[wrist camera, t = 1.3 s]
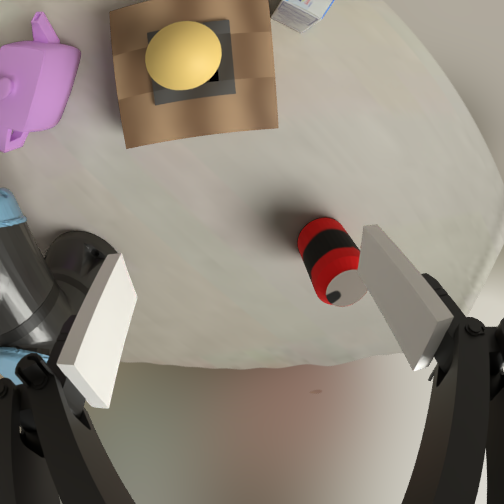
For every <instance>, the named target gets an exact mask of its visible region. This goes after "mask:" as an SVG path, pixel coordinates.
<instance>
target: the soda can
mask: <svg viewBox="0 0 504 504" xmlns="http://www.w3.org/2000/svg"><path fill="white" fill-rule="evenodd" d="M298 249H299V252H300V254H301V257H302V259H303V262H304V264H305V267H306V269H307V272H308V274H309V277H310V279H311V282H312V284H313V287H314V289H315V292H316V294H317V296H318V298H319V299H320V300H321V301H323V302H324V303H327V304H330V305H335V306H339V307H344V306H349V305H352V304H354V303H356V302H357V301H359V300H360V299H361V298H362V297H363V296H364V295H365V294H366V292H367V290H368V289H367V287H366V286H365V284H364V282H363V281H362V279H361V277H360V276H359V274H358V273H357V271H358V264H359V257H360V250H359V249H358V247H357V246H356V244H355V243H354V242H353V240H352V239H351V237H350V236H349V235H348V233H347V232H346V231H345V229H344V228H343V226H342V225H341V224H340V223H339V222H338V221H336V220H334V219H331V218H319V219H316V220H314V221H312V222H310V223H309V224H307V225H306V226H305V227H304V228H303V229H302V231H301V232H300V235H299V237H298Z"/></svg>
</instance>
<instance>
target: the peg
mask: <svg viewBox="0 0 504 504" xmlns="http://www.w3.org/2000/svg"><path fill="white" fill-rule="evenodd" d="M221 56H222V52H221V45H220V42H219V39H218V37H217V36H216V34H215V33H214V32H213V31H212V30H211V29H210V28H208V27H207V26H205V25H203V24H201V23H197V22H193V21H181V22H176V23H173V24H170V25H168V26H166V27H164V28H163V29H161V30H160V31H159V32H158V33H157V34H156V35H155V36H154V37H153V38H152V39H151V41H150V43H149V45H148V47H147V50H146V55H145V63H146V68H147V71H148V73H149V74H150V76H151V77H152V79H153V80H154V81H155V82H157V83H158V84H159V85H161V86H163V87H165V88H168V89H172V90H188V89H193V88H195V87H198V86H200V85H202V84H204V83H205V82H207V81H208V80H209V79H210V78H211V77H212V76H213V75H214V74H215V72H216V71H217V69H218V67H219V65H220V61H221Z"/></svg>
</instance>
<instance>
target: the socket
mask: <svg viewBox="0 0 504 504" xmlns="http://www.w3.org/2000/svg"><path fill="white" fill-rule="evenodd" d="M181 21H193V22H197V23H201V24H203V25H205V26H207V27H208V28H210V29H211V30H212V31H213V32H214V33H215V34H216V36H217V37H218V39H219V42H220V45H221V52H222V56H221V61H220V65H219V67H218V75H219V81H214V82H207V83H204V84H202V85H200V86H198V87H195V88H193V89H188V90H172V89H168V88H165V87H163V86H161V85H159V84H158V83H157V82H155V81H154V80H153V79H152V77H151V76H150V74H149V73H148V71H147V68H146V63H145V55H146V50H147V47H148V45H149V43H150V41H151V39H152V38H153V37H154V36H155V35H156V34H157V33H158V32H159V31H160V30H161V29H163V28H164V27H166V26H168V25H170V24H173V23H176V22H181ZM110 30H111V43H112V54H113V64H114V73H115V81H116V88H117V96H118V103H119V109H120V115H121V122H122V127H123V133H124V139H125V144H126V149H129V148H133V147H138V146H143V145H148V144H154V143H159V142H165V141H170V140H177V139H183V138H189V137H196V136H203V135H211V134H219V133H228V132H237V131H248V130H260V129H274V128H278V113H277V97H276V83H275V69H274V57H273V45H272V33H271V22H270V12H269V2H268V0H150V1H146V2H142V3H138V4H134V5H130V6H127V7H123V8H120V9H117V10H114V11H110Z"/></svg>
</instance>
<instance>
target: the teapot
mask: <svg viewBox="0 0 504 504" xmlns="http://www.w3.org/2000/svg"><path fill="white" fill-rule="evenodd" d="M31 23H32V31H33V39H34V40H33V41H19V42H14V43H10V44H6V45H3V46H2V47H1V48H0V151H1V152H4V153H5V152H8V151H11V150H14V149H17V148H20V147H23V144H24V142H25V140H26V137H27V135H28V133H29V132H35V131H42V130H46V129H50V128H52V127H54V126H55V125H56V124H57V123H58V122H59V121H60V119H61V117H62V114H63V112H64V109H65V106H66V104H67V101H68V98H69V96H70V93H71V90H72V87H73V84H74V80H75V76H76V73H77V69H78V66H79V62H80V57H81V52H80V50H79V49H77V48H75V47H73V46H69V45H65V44H60V43H59V42H60V40H59V38H58V37H57V35H56V33H55V31H54V30H53V28H52V26H51V24H50V23H49V21H48V19H47V17H46V15H45V14H44V12H36V13H35V15H34V17H33V19H32V21H31ZM12 130H14V131H13V133H12ZM11 133H12V134H11Z"/></svg>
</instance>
